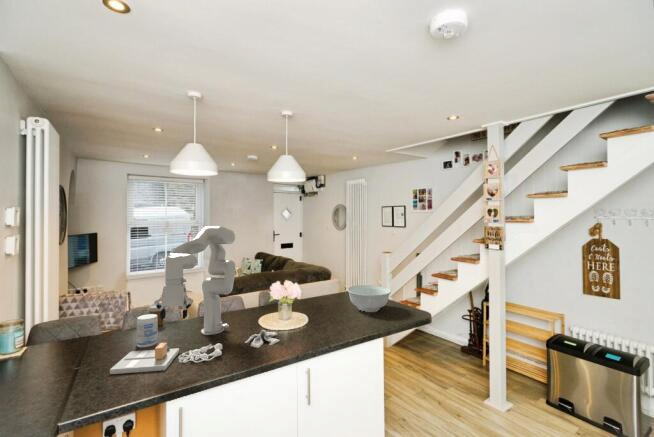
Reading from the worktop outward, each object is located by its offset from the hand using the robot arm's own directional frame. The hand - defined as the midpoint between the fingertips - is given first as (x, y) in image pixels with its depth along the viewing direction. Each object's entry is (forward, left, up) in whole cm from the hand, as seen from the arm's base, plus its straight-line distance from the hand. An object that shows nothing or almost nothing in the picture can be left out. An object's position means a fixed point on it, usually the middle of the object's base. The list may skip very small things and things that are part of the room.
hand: (173, 318), depth 141 cm
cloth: (-39, -17, -20) cm, 47 cm away
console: (+11, +1, -19) cm, 22 cm away
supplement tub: (+20, -21, -20) cm, 35 cm away
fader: (+5, +1, -17) cm, 18 cm away
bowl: (-114, -63, -20) cm, 131 cm away
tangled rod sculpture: (-13, 0, -20) cm, 24 cm away
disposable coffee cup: (+27, -52, -19) cm, 61 cm away
